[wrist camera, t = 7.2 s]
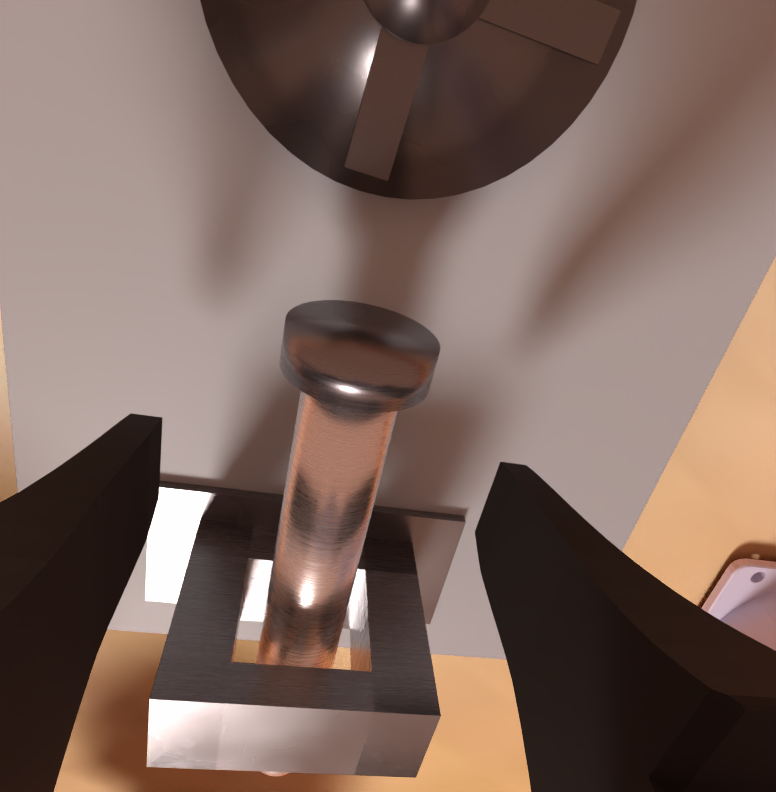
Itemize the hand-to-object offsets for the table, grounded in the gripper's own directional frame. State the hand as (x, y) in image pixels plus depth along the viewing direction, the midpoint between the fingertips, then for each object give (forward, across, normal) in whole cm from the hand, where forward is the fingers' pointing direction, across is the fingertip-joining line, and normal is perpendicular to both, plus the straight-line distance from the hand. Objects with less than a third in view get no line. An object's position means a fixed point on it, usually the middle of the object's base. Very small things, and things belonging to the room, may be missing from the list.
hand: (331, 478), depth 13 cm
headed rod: (+2, 0, +4) cm, 4 cm away
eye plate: (+3, 0, +5) cm, 6 cm away
